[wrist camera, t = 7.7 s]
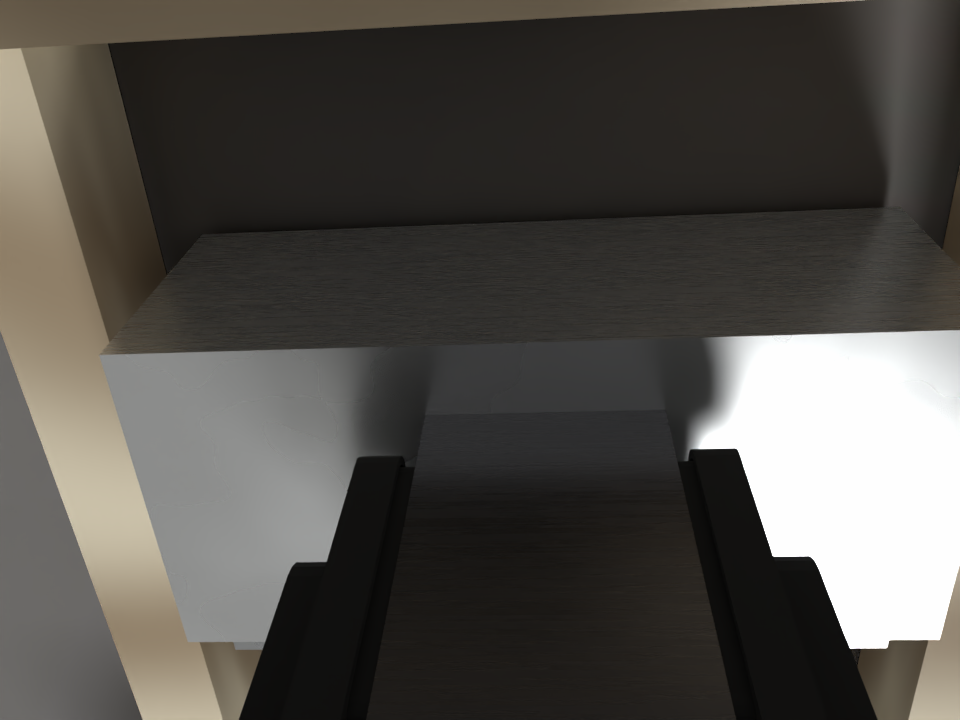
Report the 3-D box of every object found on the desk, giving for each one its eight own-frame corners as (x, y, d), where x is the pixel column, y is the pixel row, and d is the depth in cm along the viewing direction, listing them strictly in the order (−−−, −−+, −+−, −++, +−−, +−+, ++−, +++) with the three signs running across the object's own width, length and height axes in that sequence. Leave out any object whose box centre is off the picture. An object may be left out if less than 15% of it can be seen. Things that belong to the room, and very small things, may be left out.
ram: (848, 496, 17) (1317, 1473, 7) (263, 505, 17) (-99, 1386, 8) (900, 206, 14) (1826, 1135, 4) (201, 234, 15) (-498, 1053, 5)
